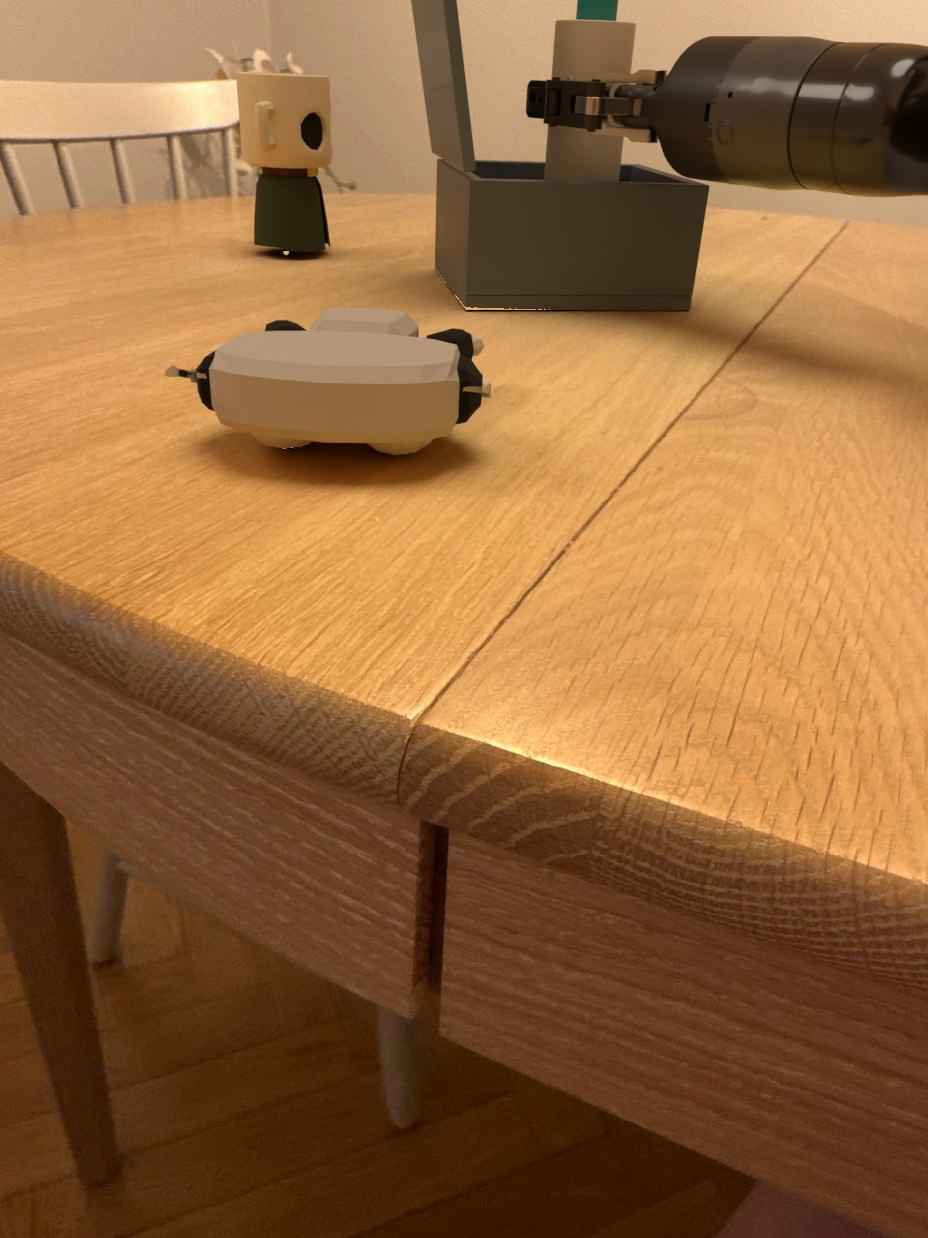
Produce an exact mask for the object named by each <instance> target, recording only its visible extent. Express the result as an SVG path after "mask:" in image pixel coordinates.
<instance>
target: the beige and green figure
mask: <svg viewBox="0 0 928 1238" xmlns="http://www.w3.org/2000/svg"><path fill="white" fill-rule="evenodd" d="M235 78H236V92H237V106H238V118H239V119H238V120H239V132H240V146H241V156H242V160H243V162H245V163H247V164H249V165H251V166H255V167H261V174H259V175H258V178H257V181H256V184H255V199H254V200H255V201H254V215H253V217H254V219H253V244H254V245H255V246H259V247H260V246H261V247H267V248H276V249H282V250H281V251H282V252H283V251H290V252H295V253H299V252H302V253H303V252H305V253H306V252H307V253H308V252H309V253H311V252H317V251H318V252H319V251H325V250H326V245H328V247H329V248H330V247H331V241H330V239H331V238H330V231H329V223H328V216H327V211H326V205H325V200H324V194H323V189H322V185H321V183H320V181H319V178H318V175H319V169H320V168H325V167H327V166H330V165H331V164H332V158H333V153H334V152H333V150H334V149H333V144H332V133H331V121H332V119H331V118H332V103H331V102H332V101H331V89H330V88H331V85H330V84H331V83H330V76H328V75H324V74H323V75H321V74H320V75H319V74H304V73H287V72H285V73H283V72H263V71H262V72H261V71H260V72H259V71H258V72H257V71H238V72H236V77H235Z"/></svg>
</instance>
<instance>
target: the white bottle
mask: <svg viewBox="0 0 928 1238" xmlns="http://www.w3.org/2000/svg"><path fill="white" fill-rule="evenodd" d="M618 7H619V0H577V2H576V15H575V19H557V20H555V23H554V37H553V52H552V63H551V65H552V67H551V79H550V80H552V77H560V80H567V78H575V80H574V81H590V80H591V79H592V78H593V76H594V75H595V74H596V73H599V72H601V73H625V74H632V65H633V56H634V48H635V47H634V46H635V38H636V30H637V29H636V28H637V23H636V22H631V21H619V20H617V16H618ZM629 84H631V83H615V84H613V85H612V87H611V89H610V96H609V97H614V92H615V90H616V89H617V88H618V86H621V85H629ZM607 119H608V122H609V124H610V125H612V126H621V125H618V124H616V123H615V122H614V120H613V118H612V115H608V116H607ZM623 127H624V126H623ZM624 138H625V137H622V136H608V135H595V134H591V133H590V132H587V129H581V128H574V127H566V126H559V125H557V127H551V126H549V124H547V134H546V147H545V160H544V162H545V174H544V180H567V181H609V182H619V175H620V166H621V164H622V156H623V147H624Z"/></svg>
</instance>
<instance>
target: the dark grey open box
mask: <svg viewBox="0 0 928 1238" xmlns="http://www.w3.org/2000/svg"><path fill="white" fill-rule="evenodd" d="M475 164H476V170H475V171H471V172H463V171H461V170H460V169H458V168H456V167H455V166H453V165H452V164H450V163H448V162H447V161H445V160H443V159H442V158H437V159H436V187H435V189H436V190H435V198H436V199H435V229H434V230H435V231H434V232H435V233H434V234H435V237H434V238H435V239H434V269H435V268H436V270H437V271H438V272H439V274H440V275H441V277H442V278H443V280H444V281H445V282H446V284H447V285H448V286H449V288H450V289H451V290H452V292H453V293H454V294H455V295H456V296H457V297H458V298H459V300H460V301H461V302H462V304H463V305H464V306H465V307H471V308H474V307H477V308H504V309H509V308H511V309H515V308H516V309H536V310H538V309H542V310H544V309H546V310H549V309H550V310H593V312H597V311H598V312H599V311H600V310H602V312H604V311H605V312H606V311H609V312H613V311H614V312H615V311H618V312H619V311H620V312H621V311H622V312H623V311H624V312H627V311H628V312H630V311H631V312H633V311H634V312H637V311H639V312H642V311H645V312H646V311H648V312H649V311H657V312H659V311H660V312H661V311H664V312H665V311H667V312H668V311H669V312H670V311H671V312H673V311H675V312H676V311H678V312H679V311H680V312H681V311H683V312H684V311H685V312H686V311H687V312H688V311H691V306H692V300H693V295H694V288H695V282H696V277H697V269H698V263H699V256H700V250H701V243H702V237H703V230H704V224H705V218H706V213H707V212H706V211H707V205H708V200H709V192H710V185H709V184H706V183H703V182H699V181H696V180H694V179H691V178H687V177H684V176H681V175H680V176H679V175H676V174H673V173H669V172H667V171H663V170H659V169H656V168H652V167H650V166H646V165H642V164H639V163H621V166H620V175H619V182H609V181H567V180H544V174H545V161H531V160H500V159H499V160H498V159H497V160H496V159H475ZM441 277H440V278H441ZM443 280H442V281H443ZM444 281H443V282H444ZM446 284H445V285H446ZM447 285H446V286H447ZM449 288H448V289H449ZM450 289H449V290H450ZM452 292H451V293H452ZM453 293H452V294H453ZM595 310H597V311H595Z"/></svg>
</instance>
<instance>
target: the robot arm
mask: <svg viewBox="0 0 928 1238" xmlns="http://www.w3.org/2000/svg"><path fill="white" fill-rule="evenodd" d="M667 73H668V74H667ZM551 78H552V80H551V79H546V80H542V79H541V80H539V79H531V80H529V82H528V83H527V86H526V100H525V101H526V102H525V114H526V116H527V117H528V118H529V119H540V120H543V121H542V122H543V124H544V125H548V124H549V126H551V127H557V125H559V126H566V127H574V128H581V129H587V132H590V133H591V134H595V135H608V136H622V137H624V138H627V139H628V140H629V141H630V142H632V143H643V144H658V143H659V144H660V147H661V151H662V153H663V156H664V158H665V160H666V162H667V164H668V165H669V166H670V167H671V169H673V171H675V172H676V173H677V174H679V175H680V176H681V177H683V178H686V179H690V180H698V181H707V182H713V183H720V184H726V185H727V184H728V185H735V186H743V187H749V188H757V189H763V190H769V191H770V190H771V191H799V190H800V191H801V190H802V191H803V190H804V191H816V192H824V193H831V194H840V195H846V196H853V197H862V198H902V197H903V198H904V197H928V45H923V44H915V43H905V42H880V41H879V42H877V41H876V42H874V41H873V42H871V41H870V42H869V41H868V42H867V41H866V42H865V41H864V42H863V41H862V42H861V41H857V42H856V41H847V42H845V41H836V40H829V39H825V38H821V37H814V36H804V35H803V36H802V35H801V36H800V35H798V36H797V35H781V36H780V35H779V36H778V35H771V36H770V35H710V36H705V37H703V38H700V39H698V40H696V41H694V42H693V43H691V44H690V45H689V46H688V47H687V48H685V50H684V51H682V53H681V54H680V55H679V57H678V58H677V59H676V60H675V62H674V63H673V65H672V67H671V69H670V71H669V72H668V70H666V69H642V68H641V69H638V70H636V72H634V73H631V74H625V73H601V72H599V73H596V74H595V75H594V76H593V78H592V79H591V80H590V81H574V80H575V78H567V80H560V77H552V76H551ZM615 83H630V84H629V85H621V86H618V88H617V89H616V90H615V92H614V97H609V96H610V89H611V87H612V85H613V84H615ZM608 115H612V118H613V120H614V122H615V123H616V124H618V125H621V126H612V125H610V124H609V122H608V119H607V116H608ZM623 126H624V127H623Z"/></svg>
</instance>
